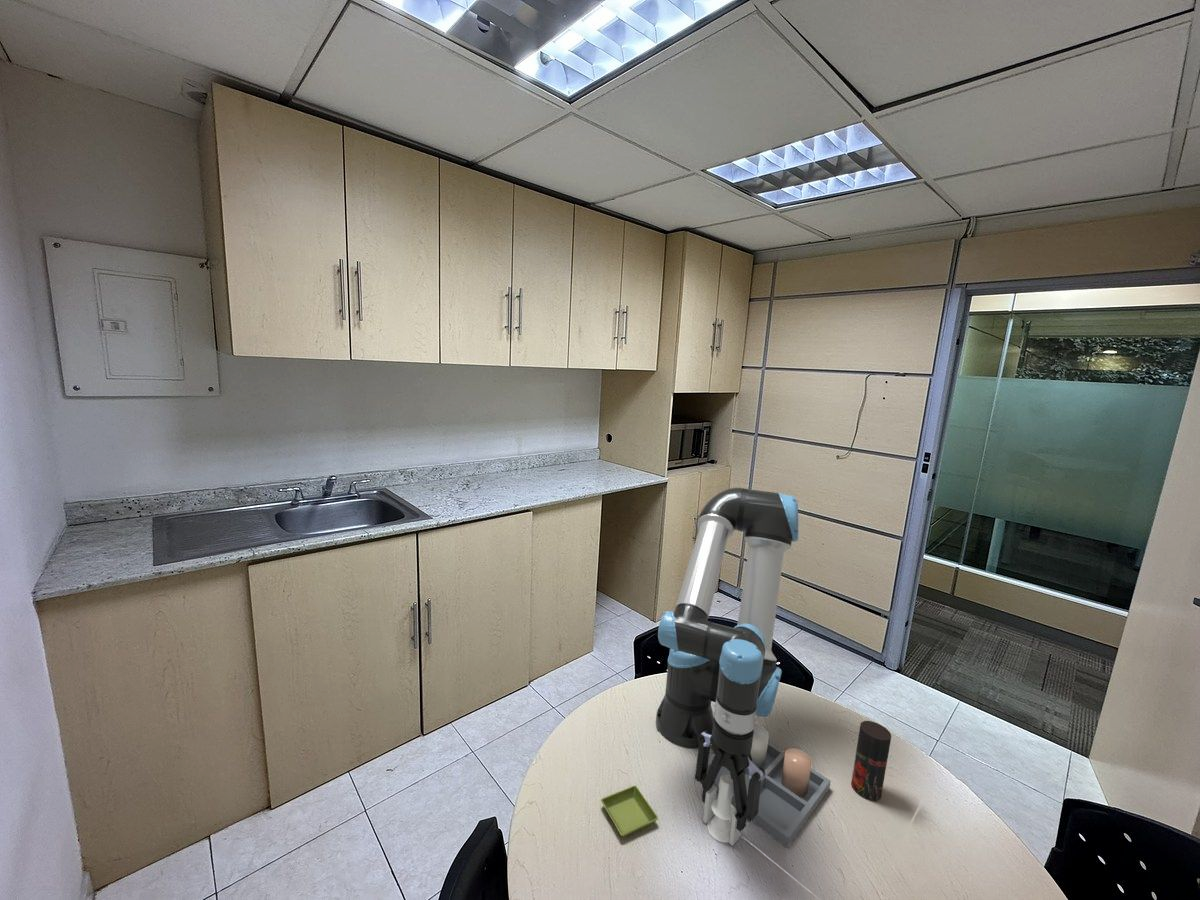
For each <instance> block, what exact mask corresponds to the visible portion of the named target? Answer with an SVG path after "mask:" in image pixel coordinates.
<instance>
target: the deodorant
mask: <svg viewBox="0 0 1200 900" xmlns="http://www.w3.org/2000/svg"><path fill="white" fill-rule="evenodd" d="M891 740H892V733H891V731H890V730H889V729H887V728H886V727H885V726H883V725H882V724H880V723H878V722H875V721H872V720H864V721H861V722H860V724H859V732H858V738H857V745H856V751H855V757H854V763H853V770H852V776H851V782H850V785H851V788H852V789H853V791H854V792H855V793H856V794H857V795H858V796H860V797H861V798H862V799H865V800H867V801H869V802H879V801H880V800H881V798H882V794H883V788H884V782H885V778H886V777H885V776H886V770H887V765H888V758H889V754H890V753H889V752H890V745H891Z"/></svg>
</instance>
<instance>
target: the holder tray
mask: <svg viewBox="0 0 1200 900" xmlns="http://www.w3.org/2000/svg"><path fill="white" fill-rule="evenodd" d="M714 756H715V753H714V754H713V755H711V756H709V761H708V768H707V773H708V771H709V769H710V767H711V764H712V760H713V758H714ZM784 757H785V751H784V750H782V749H781V748H779V747H778V746H776V745H774V744H773V743H772V742H770V741H768V746H767V754H766V762H765V765H764V766H763V767H761V768H763V769H764V770H765V774H764V776H763V778H762V779H761V788H760V798H759V808H758V814H757V815H756V816H755V817H754V819H753V820H752V821H751V822H753V823H754V824H756V825H757V826H758V827H760V829H762V830H763V831H764V832H766V833H767V834H768V835H770V836H771V837H772V838H773V839H775V840H776V841H777V842H778V843H780V844H781V845H783V846H784V847H785V848H788V847H789V846H790V845H791V843H792V842H793V840H794V839H795V838H796V836H797V835H798V833H799V832H800V830H801V829H802V828H803V827H804V825H805V824H806V822H807V821H808V820H809V819H810V818H811V815H812V814H813V812H814V811H815V810H816V808H817V807H818V806H819V804H820V803H821V801H822V800H823V799H824V797H825V795H827V794H828V791H830V787H831V781H832V780H830V779H829V778H828V777H826V776H824V775H822V773H819V772H818V771H817V770H814V769H813V768H811V772H810V779H809V786H808V792H807V794H806V795H805V796H802V797H799V796H797V795H796V794H794V793H793V792H791V791H790V790H788V789H787V788H785V787H784V786H782V783H781V779H782V772H783V765H784ZM758 769H759V768H758ZM745 770H746V773H745V782H746V790H747V797H748V787H749V781H750V778H749V769H748V768H746V769H745ZM724 774H726V775H730V771H729V770H728V769H727V768H726V767H723V766H722V767H721V769H720V771H719V773H718V775H717V777H716V779H715V781H716V782H715V781H714V782H715V783H714V784H712V786H713V785H714V786H715V787H717V790H716V795H718V793H719V782H720V777H721V775H724ZM733 794H734V788H733ZM731 804H732V805H733V806H734V808H735V809H736V803H735V795H733V797H732V800H731Z"/></svg>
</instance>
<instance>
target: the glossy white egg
mask: <svg viewBox="0 0 1200 900" xmlns="http://www.w3.org/2000/svg"><path fill="white" fill-rule="evenodd" d="M769 738H770V734H769V732H768V730H767V728H765V727H764V726H762V725H761V724H758V723H755V726H754V733H753V742H752V748H751V757H752V762H753V763H754V764H755V765H756V767H757V768H760V767H763V766H764V765H765V762H766V754H767V746H768V742H769Z"/></svg>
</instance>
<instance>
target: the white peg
mask: <svg viewBox="0 0 1200 900" xmlns="http://www.w3.org/2000/svg"><path fill="white" fill-rule="evenodd" d="M733 788H734V787H733V780H732V779H731V776H730V775H726V774H724V775H721V777H720V782H719V793H718V794H717V798H716V799H715V800H714V801H713V802H712V804H711V808H712V811H713V812H714V816H713V817H712V818H711V819H710V820H709V821H708V822H707V823H706V824H707V825H706V827H707V831H708V833H709V834H710V836H711V837H712V838H713V839H714V840H716V841H717V842H719V843H723V844H725V843H727V844H728V843H729V840H730V831H731V823H732V815H733V812H734V811H735V810H736V808H735V807H734V806H733V805H732V804H731V800H732V797H733V795H734V794H733Z"/></svg>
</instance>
